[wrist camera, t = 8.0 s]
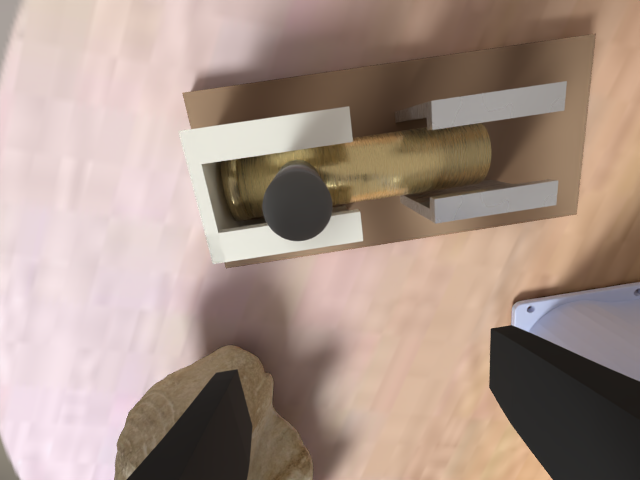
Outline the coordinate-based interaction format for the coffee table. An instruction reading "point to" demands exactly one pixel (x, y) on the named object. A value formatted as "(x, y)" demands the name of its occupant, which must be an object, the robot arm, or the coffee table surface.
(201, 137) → the socket block
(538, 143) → the guide board
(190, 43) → the coffee table surface
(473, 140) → the brass bolt
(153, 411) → the sculpture
